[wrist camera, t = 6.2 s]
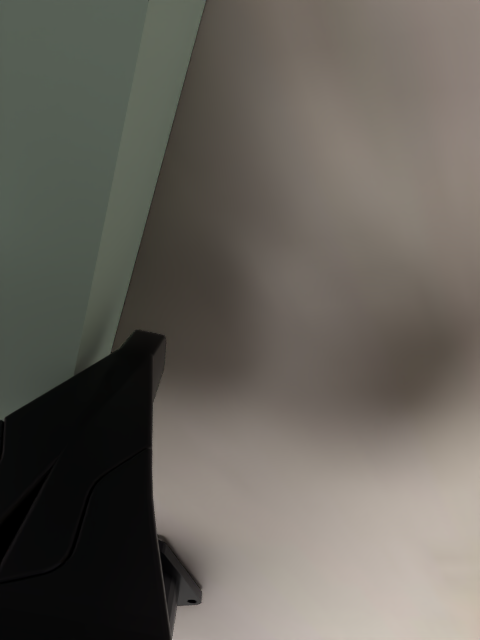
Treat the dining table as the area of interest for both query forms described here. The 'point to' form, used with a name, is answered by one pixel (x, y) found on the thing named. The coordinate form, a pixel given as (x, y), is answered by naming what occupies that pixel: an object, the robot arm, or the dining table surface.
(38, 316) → the leg bar
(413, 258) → the dining table surface
